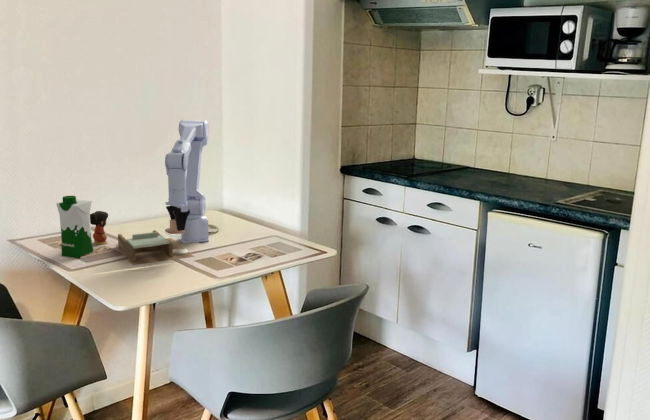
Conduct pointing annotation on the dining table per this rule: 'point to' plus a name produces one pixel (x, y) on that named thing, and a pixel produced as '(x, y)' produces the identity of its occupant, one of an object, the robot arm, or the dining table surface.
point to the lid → (147, 240)
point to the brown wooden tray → (152, 251)
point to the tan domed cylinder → (174, 227)
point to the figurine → (99, 227)
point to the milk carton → (75, 227)
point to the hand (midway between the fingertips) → (178, 228)
